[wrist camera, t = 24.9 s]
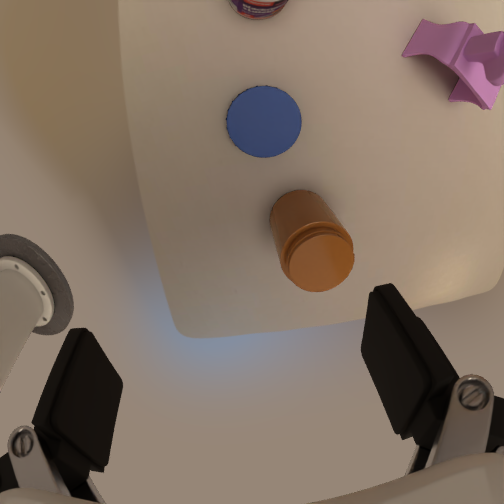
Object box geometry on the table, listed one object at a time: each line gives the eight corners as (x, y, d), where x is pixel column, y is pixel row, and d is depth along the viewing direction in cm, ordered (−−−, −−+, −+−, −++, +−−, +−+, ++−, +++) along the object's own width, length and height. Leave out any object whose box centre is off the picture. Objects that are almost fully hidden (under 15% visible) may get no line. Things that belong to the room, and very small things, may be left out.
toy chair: (448, 110, 27) (546, 142, 14) (397, 61, 24) (500, 63, 11) (473, 63, 23) (567, 77, 10) (425, 13, 21) (522, -1, 8)
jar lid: (312, 119, 27) (317, 120, 26) (265, 168, 30) (267, 172, 28) (260, 71, 25) (261, 70, 23) (211, 124, 27) (210, 126, 26)
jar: (274, 249, 34) (287, 302, 26) (265, 195, 31) (278, 237, 23) (330, 239, 34) (358, 288, 26) (326, 185, 31) (359, 222, 23)
